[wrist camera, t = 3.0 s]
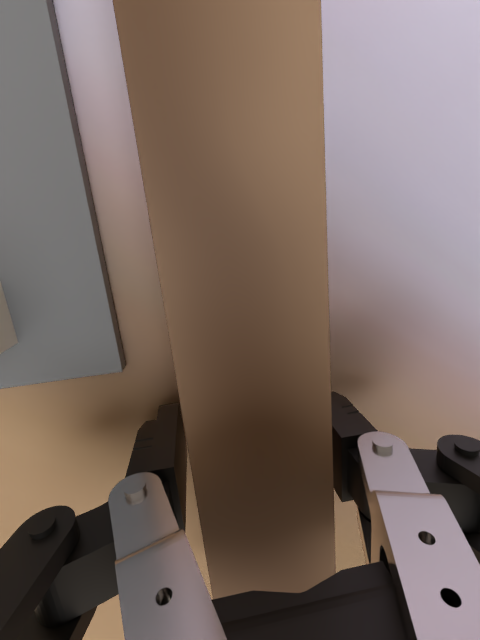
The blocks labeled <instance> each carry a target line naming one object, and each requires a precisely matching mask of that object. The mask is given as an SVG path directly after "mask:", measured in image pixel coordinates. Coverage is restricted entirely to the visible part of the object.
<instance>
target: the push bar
mask: <svg viewBox="0 0 480 640" xmlns="http://www.w3.org/2000/svg"><path fill="white" fill-rule="evenodd" d="M113 5H114V11H115V17H116V23H117V29H118V35H119V41H120V47H121V53H122V59H123V65H124V71H125V77H126V83H127V89H128V95H129V100H130V106H131V112H132V118H133V124H134V130H135V136H136V142H137V148H138V154H139V160H140V166H141V172H142V178H143V184H144V190H145V196H146V202H147V208H148V214H149V220H150V226H151V232H152V238H153V244H154V250H155V255H156V261H157V267H158V273H159V279H160V285H161V291H162V297H163V303H164V309H165V315H166V321H167V327H168V333H169V339H170V345H171V351H172V357H173V363H174V369H175V375H176V381H177V387H178V393H179V399H180V405H181V411H182V416H183V422H184V428H185V434H186V440H187V446H188V452H189V458H190V464H191V470H192V476H193V482H194V488H195V494H196V500H197V506H198V512H199V518H200V524H201V530H202V536H203V542H204V548H205V554H206V560H207V566H208V572H209V577H210V583H211V589H212V595H213V599H217V598H221V597H226V596H230V595H235V594H239V593H243V592H248V591H252V590H255V591H272V592H289V593H301V592H305V591H307V590H308V589H310V588H312V587H314V586H315V585H317V584H319V583H320V582H322V581H324V580H326V579H327V578H329V577H331V576H332V575H334V574H336V564H335V526H334V487H333V449H332V411H331V373H330V335H329V296H328V258H327V220H326V182H325V144H324V105H323V67H322V29H321V0H113Z"/></svg>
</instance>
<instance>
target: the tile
mask: <svg viewBox="0 0 480 640" xmlns="http://www.w3.org/2000/svg"><path fill="white" fill-rule="evenodd" d="M17 343H18V340H17V337H16V333H15V330H14V326H13V323H12V319H11V316H10V313H9V309H8V306H7V302H6V299H5V296H4V292H3V289H2V285H1V282H0V354H1V353H2V352H4V351H6V350H7V349H9V348H10V347H12V346H13V345H15V344H17Z"/></svg>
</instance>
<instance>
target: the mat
mask: <svg viewBox="0 0 480 640" xmlns="http://www.w3.org/2000/svg"><path fill="white" fill-rule="evenodd" d="M0 282H1V285H2V289H3V292H4V296H5V299H6V302H7V306H8V309H9V313H10V316H11V319H12V323H13V326H14V330H15V333H16V337H17V340H18V343H17V344H15V345H13V346H12V347H10V348H9V349H7V350H6V351H4V352H2V353H1V354H0V389H2V388H10V387H17V386H24V385H31V384H38V383H45V382H52V381H59V380H66V379H74V378H81V377H88V376H95V375H102V374H109V373H116V372H122V371H123V369H124V367H125V365H126V364H125V359H124V354H123V349H122V344H121V339H120V334H119V329H118V324H117V319H116V314H115V309H114V304H113V299H112V294H111V289H110V284H109V279H108V274H107V269H106V264H105V259H104V254H103V249H102V245H101V240H100V235H99V230H98V225H97V220H96V215H95V210H94V205H93V200H92V195H91V190H90V185H89V180H88V175H87V170H86V165H85V160H84V155H83V150H82V145H81V140H80V135H79V130H78V125H77V121H76V116H75V111H74V106H73V101H72V96H71V91H70V86H69V81H68V76H67V71H66V66H65V61H64V56H63V51H62V46H61V41H60V36H59V31H58V26H57V21H56V16H55V11H54V6H53V1H52V0H0Z"/></svg>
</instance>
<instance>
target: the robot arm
mask: <svg viewBox="0 0 480 640" xmlns="http://www.w3.org/2000/svg"><path fill="white" fill-rule="evenodd" d="M331 411H332V449H333V487H334V489H335V491H336V493H337V494H338V496H339V498H340V500H341V501H342V502H345V501H350V500H354V501H355V503H356V504H357V520H358V525H359V530H360V535H361V540H362V546H363V551H364V556H365V561H366V565H362V566H358V567H353V568H349V569H345V570H341V571H339V572H338V573H336V574H334V575H332V576H331V577H329V578H327V579H326V580H324V581H322V582H320V583H319V584H317V585H315V586H314V587H312V588H310V589H308V590H307V591H305V592H301V593H289V592H272V591H255V590H252V591H248V592H243V593H239V594H235V595H230V596H226V597H221V598H217V599H213V600H211V598H210V595H209V593H208V590H207V588H206V585H205V582H204V580H203V577H202V575H201V572H200V570H199V567H198V565H197V562H196V560H195V557H194V554H193V552H192V549H191V547H190V544H189V542H188V539H187V537H186V534H185V524H186V472H187V449H186V440H185V433H184V427H183V421H182V414H181V408H180V404H179V403H174V404H168V405H161V406H159V410H158V415H157V420H152V421H146V422H145V423H144V424H143V425H142V427H141V428H140V429H139V430H138V432H137V436H136V440H135V443H134V447H133V451H132V454H131V458H130V462H129V466H128V469H127V473H126V477H125V479H123V480H121V481H120V482H119V483H118V484H117V485H116V486H115V487H114V488H113V489H112V491H111V493H110V495H109V499H108V502H106V503H105V504H103V505H101V506H99V507H97V508H95V509H93V510H90V511H88V512H86V513H83V514H81V515H79V516H75V513H74V511H73V509H71V508H70V507H67V506H54V507H50V508H47V509H45V510H42V511H40V512H38V513H36V514H35V515H33V516H32V517H30V518H29V519H28V520H26V521H25V522H24V523H23V524H22V525H21V526H20V527H19V528H18V529H17V530H16V531H15V533H14V534H13V535H12V536H11V537H10V538H9V539H8V541H7V542H6V543H5V544H4V545H3V546H2V548H1V549H0V640H82V638H83V636H84V634H85V632H86V630H87V628H88V626H89V624H90V622H91V620H92V617H93V615H94V613H95V611H96V608H97V606H98V605H100V604H101V603H103V602H105V601H107V600H109V599H110V598H112V597H114V596H116V595H118V594H119V599H120V607H121V614H122V622H123V629H124V637H125V640H480V441H479V440H477V439H474V438H471V437H467V436H463V435H446V436H443V437H441V438H440V439H439V440H438V442H437V450H424V449H410V448H408V446H407V445H406V443H405V442H404V441H403V440H401V439H400V438H398V437H397V436H394V435H392V434H389V433H385V432H378V431H377V430H376V429H375V428H374V427H373V426H372V425H371V424H370V423H369V421H368V420H367V419H366V418H365V417H364V416H363V415H362V414H361V413H359V411H358V410H357V409H356V408H355V407H354V406H353V405H352V404H351V402H350V401H349V400H348V399H347V398H346V397H344V396H342V395H340V394H338V393H336V392H331Z"/></svg>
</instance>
